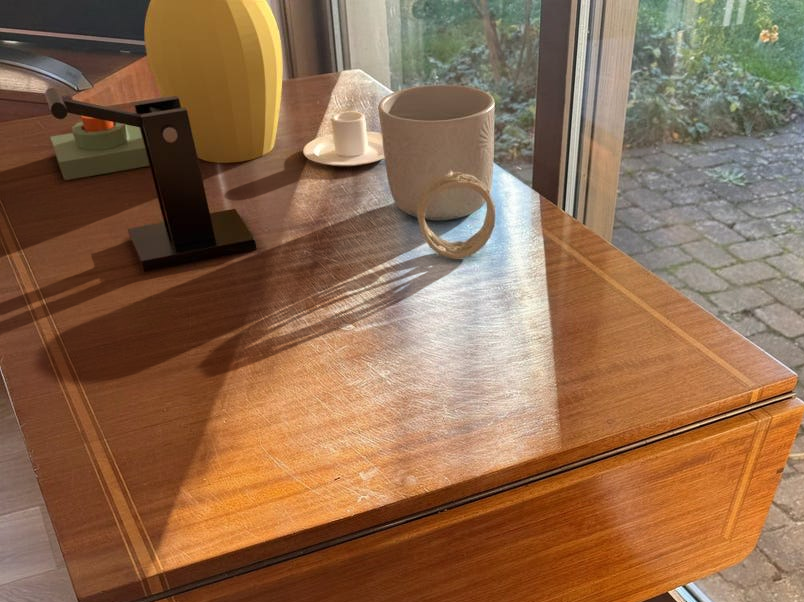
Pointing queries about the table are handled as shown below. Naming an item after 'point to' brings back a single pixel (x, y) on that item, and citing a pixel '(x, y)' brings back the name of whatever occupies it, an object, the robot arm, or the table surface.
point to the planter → (437, 145)
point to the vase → (219, 72)
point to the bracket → (181, 197)
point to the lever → (91, 110)
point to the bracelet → (459, 248)
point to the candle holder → (346, 143)
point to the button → (96, 124)
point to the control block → (99, 150)
